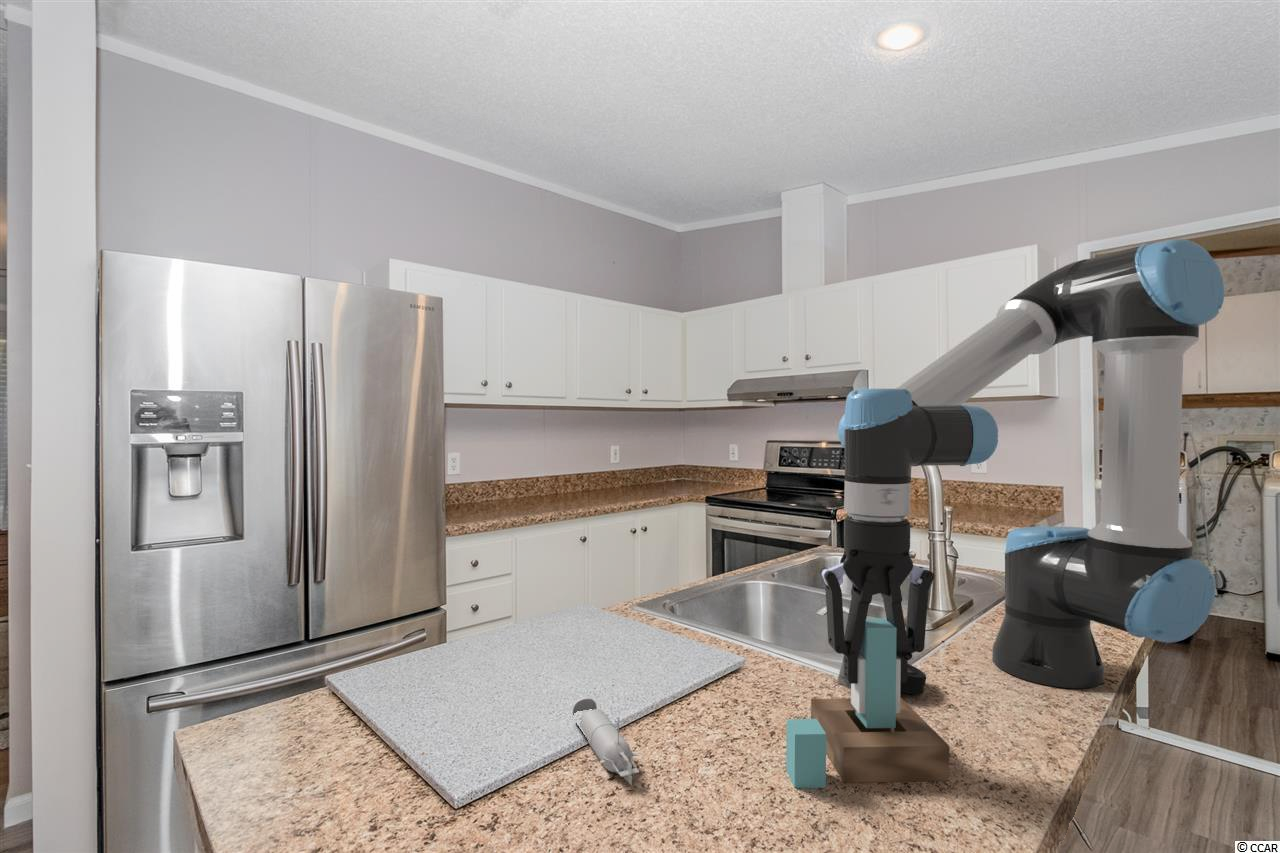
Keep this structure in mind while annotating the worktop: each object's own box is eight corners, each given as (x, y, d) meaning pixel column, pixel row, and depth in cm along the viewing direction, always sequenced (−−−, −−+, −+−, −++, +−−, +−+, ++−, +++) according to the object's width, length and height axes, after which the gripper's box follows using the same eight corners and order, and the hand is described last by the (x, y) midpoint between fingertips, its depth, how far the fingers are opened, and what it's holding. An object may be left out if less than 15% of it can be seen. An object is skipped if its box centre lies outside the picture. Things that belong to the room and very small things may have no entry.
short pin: (815, 769, 74) (816, 718, 73) (825, 787, 70) (826, 733, 70) (786, 770, 73) (786, 719, 73) (794, 788, 70) (795, 734, 70)
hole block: (901, 727, 83) (901, 697, 83) (948, 780, 71) (949, 745, 71) (810, 729, 83) (811, 699, 83) (843, 782, 71) (843, 747, 71)
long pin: (883, 713, 79) (884, 618, 79) (895, 727, 75) (896, 627, 75) (855, 714, 79) (856, 618, 78) (866, 728, 75) (867, 628, 75)
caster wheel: (920, 699, 97) (916, 717, 88) (846, 670, 102) (835, 684, 94) (931, 657, 97) (928, 671, 88) (856, 630, 103) (847, 640, 94)
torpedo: (563, 722, 85) (563, 674, 85) (596, 716, 87) (596, 668, 87) (611, 797, 69) (611, 737, 69) (651, 786, 71) (651, 728, 70)
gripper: (818, 522, 72) (817, 724, 73) (960, 521, 73) (958, 722, 74) (800, 511, 80) (798, 695, 80) (928, 511, 81) (927, 693, 81)
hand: (875, 707), depth 77 cm, fingers closed on long pin, 3 cm apart
